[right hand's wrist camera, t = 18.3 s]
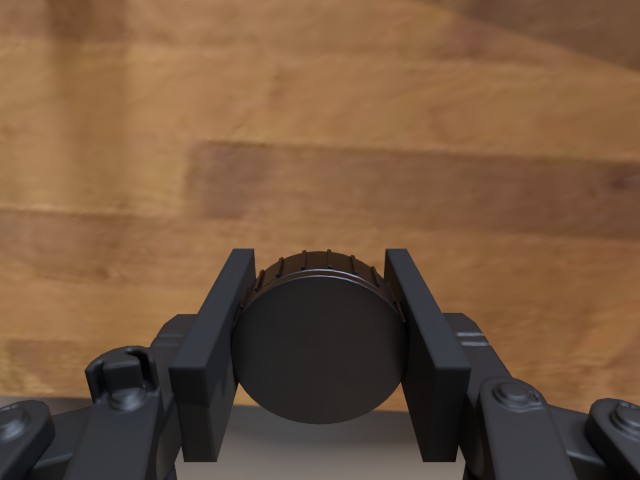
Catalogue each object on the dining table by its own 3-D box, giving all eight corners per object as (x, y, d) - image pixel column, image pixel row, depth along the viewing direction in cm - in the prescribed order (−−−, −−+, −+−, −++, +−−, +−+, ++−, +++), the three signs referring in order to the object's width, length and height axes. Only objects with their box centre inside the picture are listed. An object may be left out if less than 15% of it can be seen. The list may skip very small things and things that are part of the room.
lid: (345, 408, 13) (349, 449, 12) (212, 345, 12) (197, 381, 11) (432, 298, 12) (449, 329, 10) (288, 217, 11) (282, 238, 9)
